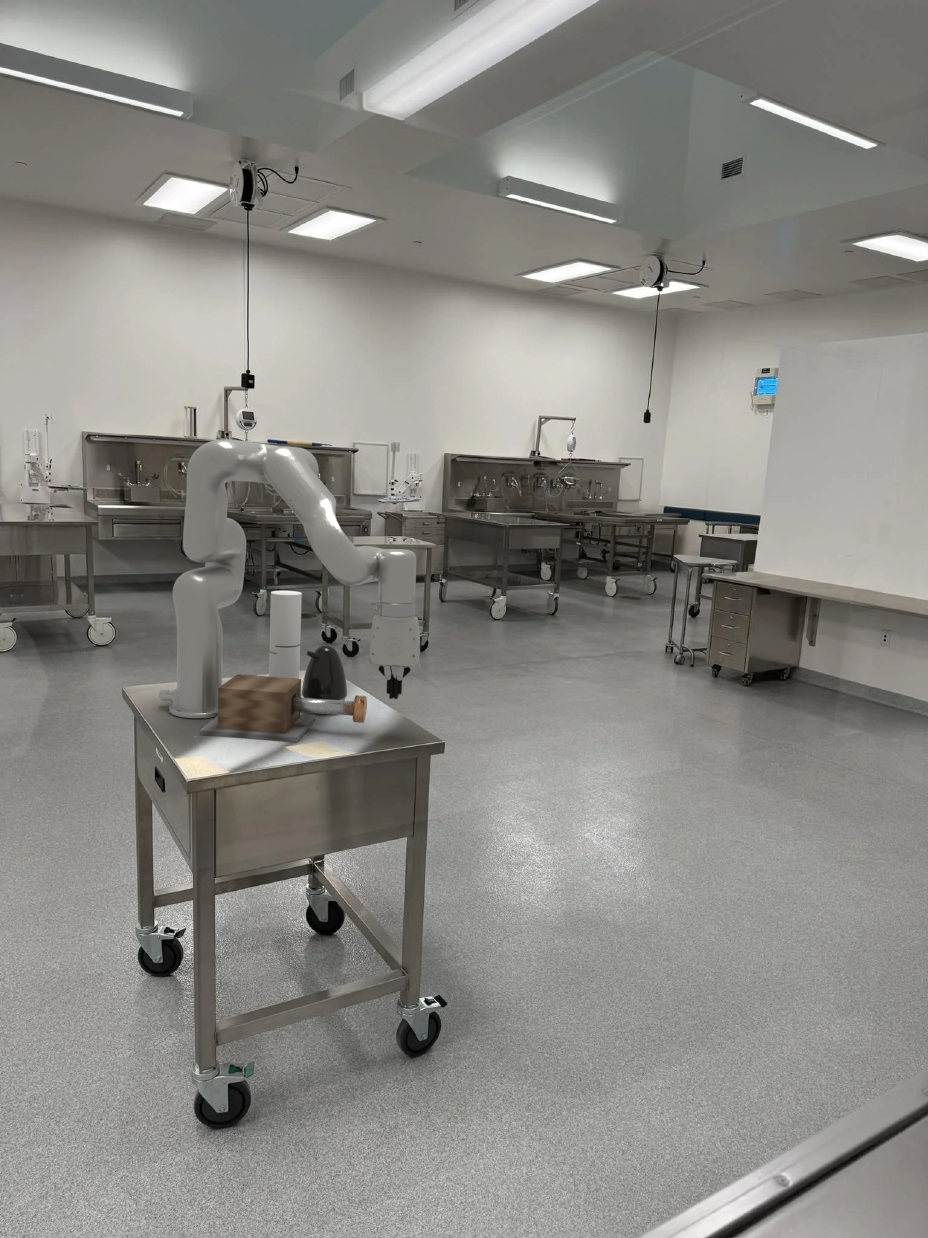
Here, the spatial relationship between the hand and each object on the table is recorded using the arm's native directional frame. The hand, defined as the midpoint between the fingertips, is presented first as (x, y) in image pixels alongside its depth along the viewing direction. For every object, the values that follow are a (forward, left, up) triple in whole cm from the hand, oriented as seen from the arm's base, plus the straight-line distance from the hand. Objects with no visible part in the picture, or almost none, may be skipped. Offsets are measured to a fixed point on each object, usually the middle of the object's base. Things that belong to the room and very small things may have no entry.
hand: (394, 697), depth 172 cm
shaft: (-16, 0, -6) cm, 17 cm away
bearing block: (-28, 0, -9) cm, 29 cm away
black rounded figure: (-18, +16, -9) cm, 26 cm away
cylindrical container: (-30, +26, -9) cm, 41 cm away
